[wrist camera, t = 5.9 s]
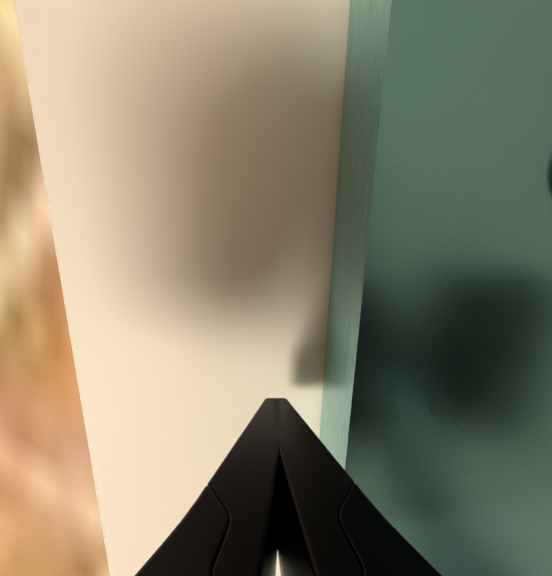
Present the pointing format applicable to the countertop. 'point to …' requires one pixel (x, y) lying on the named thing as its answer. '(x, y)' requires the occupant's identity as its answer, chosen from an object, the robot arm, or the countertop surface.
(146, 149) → the cream base board
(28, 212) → the countertop surface
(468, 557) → the teal hinge leaf
